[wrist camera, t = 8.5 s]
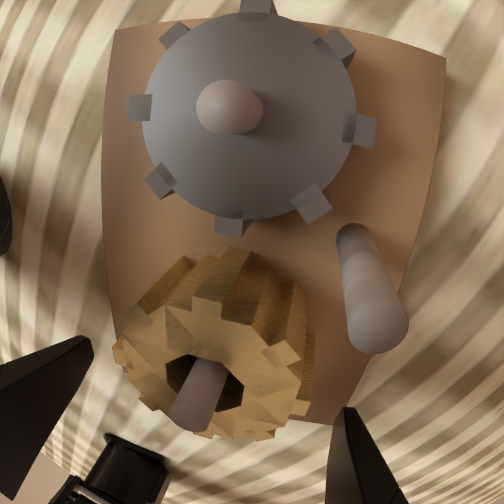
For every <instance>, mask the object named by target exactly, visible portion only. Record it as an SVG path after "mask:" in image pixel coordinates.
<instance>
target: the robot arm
mask: <svg viewBox="0 0 504 504" xmlns="http://www.w3.org/2000/svg"><path fill="white" fill-rule="evenodd" d="M93 359H94V352H93V348H92V344H91V341H90V339H89V338H87V337H85V336H83V335H78V336H76V337H73V338H70V339H68V340H65V341H63V342H60V343H57V344H55V345H52V346H50V347H47V348H44V349H42V350H39V351H36V352H34V353H31V354H29V355H26V356H23V357H21V358H18V359H15V360H13V361H10V362H7V363H5V364H2V365H0V492H1V493H2V494H3V495H5V496H6V497H7V498H9V499H10V500H11V501H13V499H14V498H15V496H16V494H17V492H18V490H19V489H20V487H21V485H22V483H23V481H24V479H25V477H26V475H27V474H28V472H29V470H30V468H31V466H32V464H33V463H34V461H35V459H36V457H37V456H38V454H39V452H40V450H41V449H42V447H43V445H44V444H45V442H46V440H47V439H48V437H49V435H50V434H51V432H52V430H53V429H54V427H55V425H56V424H57V422H58V420H59V419H60V417H61V416H62V414H63V412H64V411H65V409H66V408H67V406H68V404H69V403H70V401H71V400H72V398H73V397H74V395H75V394H76V392H77V390H78V388H79V387H80V385H81V383H82V381H83V379H84V377H85V375H86V373H87V371H88V369H89V367H90V365H91V363H92V361H93ZM103 437H104V439H105V441H106V443H107V445H106V447H105V448H104V450H103V452H102V453H101V455H100V456H99V458H98V459H97V461H96V463H95V464H94V466H93V467H92V469H91V471H90V472H89V474H88V475H87V477H86V479H85V480H84V481H83V480H81V478H80V477H78V476H77V475H76V476H73V475H71V474H70V476H69V477H68V479H67V480H66V482H65V484H64V485H63V486H62V487H61V489H60V490H59V491H58V492H57V493H56V495H55V496H54V497H53V498H52V499H51V500H50V502H49V503H48V504H97V503H95V502H93V501H92V500H90V499H88V498H87V497H85V496H84V495H82V494H78V493H77V492H78V491H79V490H80V491H81V492H83V493H84V494H86V495H88V496H89V497H91V498H92V499H94V500H96V501H98V502H99V503H101V504H161V502H162V500H163V497H164V495H165V493H166V491H167V488H168V486H169V484H170V482H171V478H170V474H169V472H168V470H167V466H166V462H165V459H164V458H163V457H161V456H159V455H156V454H154V453H151V452H149V451H146V450H144V449H141V448H139V447H136V446H134V445H132V444H130V443H127V442H125V441H123V440H121V439H118V438H116V437H114V436H112V435H110V434H108V433H105V434H104V436H103ZM325 504H409V503H408V501H407V499H406V498H405V496H404V494H403V492H402V491H401V489H400V488H399V485H398V483H397V482H396V480H395V478H394V476H393V474H392V473H391V471H390V469H389V467H388V465H387V464H386V462H385V460H384V458H383V456H382V455H381V453H380V451H379V449H378V447H377V446H376V444H375V442H374V440H373V438H372V437H371V435H370V433H369V431H368V430H367V428H366V426H365V424H364V422H363V421H362V419H361V417H360V415H359V414H358V412H357V410H356V409H355V408H353V407H342V408H341V410H340V412H339V414H338V416H337V417H336V419H335V421H334V424H333V430H332V437H331V444H330V450H329V456H328V462H327V475H326V493H325Z"/></svg>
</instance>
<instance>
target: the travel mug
mask: <svg viewBox="0 0 504 504" xmlns="http://www.w3.org/2000/svg"><path fill="white" fill-rule="evenodd" d="M11 235H12V223H11V213H10V207H9V202H8V198H7V194H6V191H5V188H4V185H3V183H2V180H1V178H0V256H2V255H3V254H4V253H5V252H6V251H7V250H8V248H9V246H10V242H11Z"/></svg>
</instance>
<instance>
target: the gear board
mask: <svg viewBox="0 0 504 504" xmlns="http://www.w3.org/2000/svg"><path fill="white" fill-rule="evenodd" d="M445 76H446V58H444V57H442V56H439V55H437V54H434V53H431V52H429V51H426V50H423V49H420V48H417V47H414V46H411V45H408V44H405V43H402V42H398V41H395V40H391V39H388V38H384V37H380V36H377V35H373V34H368V33H364V32H360V31H355V30H350V29H345V28H340V27H334V26H328V25H322V24H315V23H308V22H300V21H293V20H291V19H288V18H285V17H282V16H278V14H277V11H276V8H275V6H274V3H273V0H241V4H240V10H239V13H234V14H228V15H223V16H220V17H217V18H207V19H190V20H179V21H169V22H161V23H154V24H147V25H141V26H135V27H129V28H124V29H119V30H115V34H114V39H113V45H112V51H111V57H110V64H109V71H108V78H107V86H106V95H105V106H104V118H103V134H102V162H101V193H102V221H103V238H104V250H105V261H106V271H107V280H108V288H109V295H110V302H111V309H112V315H113V321H114V327H115V333H116V338H117V341H118V340H119V338H120V337H121V333H122V332H123V331H124V330H125V329H126V327H127V326H128V325H129V324H130V323H131V322H130V321H129V320H128V319H127V317H126V316H125V315H124V314H123V312H124V311H125V310H126V309H127V308H128V307H129V306H130V305H131V304H132V303H133V302H134V301H135V300H136V299H137V298H138V297H139V296H140V295H141V294H142V293H143V292H144V291H145V290H146V289H147V288H148V287H149V286H150V285H151V284H152V283H153V282H154V281H155V280H156V279H157V278H158V277H159V276H160V275H161V274H162V273H163V272H164V271H165V270H166V269H167V268H168V267H169V266H170V265H172V264H173V263H174V262H176V261H177V260H178V259H180V258H181V257H182V256H183V255H184V256H185V258H186V259H187V260H188V261H189V263H190V264H191V265H193V264H195V263H196V262H198V261H199V260H200V259H202V258H203V257H205V256H206V255H209V256H214V257H219V258H221V256H222V255H223V254H224V252H225V251H226V250H227V248H228V247H233V248H238V249H243V250H248V251H251V253H250V260H249V264H253V265H258V266H263V267H268V268H271V269H272V270H273V271H274V273H275V274H276V275H277V277H278V278H279V279H280V281H281V282H282V283H283V285H285V284H287V283H289V282H290V281H292V280H294V279H296V280H297V281H298V283H299V284H300V285H301V287H302V288H303V290H304V291H305V292H306V294H307V307H306V315H307V316H308V320H307V331H306V333H308V334H314V335H315V354H314V370H313V384H312V396H311V403H310V405H309V408H308V410H307V412H306V414H305V416H301V415H295V414H289V417H288V419H293V420H299V421H306V422H312V423H320V424H327V425H333V424H334V421H335V419H336V417H337V416H338V414H339V412H340V410H341V408H342V407H346V405H347V403H348V401H349V399H350V398H351V396H352V394H353V392H354V390H355V388H356V386H357V384H358V382H359V380H360V378H361V376H362V374H363V372H364V370H365V368H366V366H367V364H368V362H369V360H370V358H371V356H372V354H378V353H383V352H386V351H389V350H391V349H392V348H394V347H396V346H397V345H398V344H399V343H400V342H401V341H402V340H403V339H404V337H405V335H406V333H407V331H408V325H409V323H408V318H407V315H406V313H405V310H404V308H403V305H402V303H401V300H400V298H399V296H398V291H399V288H400V285H401V282H402V279H403V277H404V274H405V271H406V268H407V265H408V262H409V259H410V256H411V252H412V249H413V246H414V243H415V239H416V236H417V233H418V229H419V225H420V222H421V218H422V214H423V210H424V207H425V203H426V198H427V194H428V190H429V185H430V181H431V176H432V171H433V166H434V161H435V156H436V150H437V144H438V138H439V132H440V125H441V117H442V109H443V100H444V89H445ZM122 367H123V371H124V372H125V373H128V370H127V367H124V366H122ZM229 372H230V371H229V370H228V369H227V368H226V367H225V366H224V365H223V364H222V363H219V362H216V361H212V360H208V359H204V358H201V357H198V358H197V360H196V362H195V364H194V365H193V367H192V369H191V371H190V373H189V375H188V377H187V379H186V381H185V382H184V384H183V386H182V388H181V390H180V392H179V394H178V396H177V398H176V400H175V401H174V403H173V405H172V407H171V409H170V411H169V417H170V418H171V420H172V421H173V422H174V423H175V424H176V425H178V426H179V427H181V428H183V429H185V430H188V431H192V432H204V431H206V430H207V428H208V426H209V423H210V420H211V418H212V415H213V413H214V410H215V408H216V405H217V403H218V400H219V398H220V395H221V392H222V390H223V387H224V385H225V382H226V380H227V377H228V374H229Z"/></svg>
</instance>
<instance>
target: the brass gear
mask: <svg viewBox="0 0 504 504" xmlns="http://www.w3.org/2000/svg"><path fill="white" fill-rule="evenodd" d="M250 253H251V251H248V250H243V249H238V248H233V247H228V248H227V250H226V251H225V252H224V254H223V255H222V256H221V258H219V257H214V256H209V255H206V256H205V257H203V258H202V259H200V260H199V261H198V262H196V263H195V264H193V265H191V264H190V263H189V261H188V260H187V259H186V258H185V256H184V255H183V256H182V257H181V258H180V259H178V260H177V261H176V262H174V263H173V264H172V265H170V266H169V267H168V268H167V269H166V270H165V271H164V272H163V273H162V274H161V275H160V276H159V277H158V278H157V279H156V280H155V281H154V282H153V283H152V284H151V285H150V286H149V287H148V288H147V289H146V290H145V291H144V292H143V293H142V294H141V295H140V296H139V297H138V298H137V299H136V300H135V301H134V302H133V303H132V304H131V305H130V306H129V307H128V308H127V309H126V310H125V311H124V312H123V314H124V315H125V316H126V317H127V319H128V320H129V321H130V322H131V323H130V324H129V325H128V326H127V327H126V329H125V330H124V331H123V332H122V333H121V337H120V338H119V340H118V341H117V342H116V343H115V344H114V345H113V347H112V349H113V354H114V358H115V363H117V364H119V365H122V366H124V367H127V370H128V375H129V379H130V382H131V383H132V384H133V385H134V386H135V387H136V388H137V389H138V390H139V391H140V392H141V395H140V396H139V398H138V399H140V400H141V401H142V402H143V403H144V404H145V405H146V406H147V407H148V408H150V409H151V410H152V411H155V410H159V409H160V410H161V411H162V412H163V413H165V414H166V415H167V416H168V417H169V411H170V409H171V407H172V405H173V403H174V401H175V400H176V398H177V396H178V394H179V392H180V390H181V388H182V386H183V384H184V382H185V381H186V379H187V377H188V375H189V373H190V371H191V369H192V367H193V365H194V364H195V362H196V360H197V358H198V357H201V358H204V359H208V360H212V361H216V362H219V363H222V364H223V365H224V366H225V367H226V368H227V369H228V370H229V371H230V372H229V374H228V377H227V380H226V382H225V385H224V387H223V390H222V392H221V395H220V398H219V400H218V403H217V405H216V408H215V410H214V413H213V415H212V418H211V420H210V423H209V426H208V428H207V430H206V431H204V432H193V434H196V435H199V436H203V437H206V438H209V439H212V438H213V436H214V434H216V435H220V436H224V437H228V438H232V439H234V438H239V437H243V436H248V435H249V436H250V437H251V438H253V439H254V440H255V441H262V440H266V439H271V438H274V435H275V430H276V428H280V427H284V426H285V424H286V422H287V419H288V417H289V414H295V415H301V416H305V414H306V412H307V410H308V408H309V405H310V403H311V396H312V384H313V370H314V354H315V335H314V334H308V333H306V331H307V320H308V316H307V315H306V307H307V294H306V292H305V291H304V290H303V288H302V287H301V285H300V284H299V283H298V281H297V280H296V279H294V280H292V281H290V282H289V283H287V284H285V285H283V283H282V282H281V281H280V279H279V278H278V277H277V275H276V274H275V273H274V271H273V270H272V269H271V268H268V267H263V266H258V265H253V264H249V260H250ZM169 418H170V417H169ZM170 419H171V418H170Z"/></svg>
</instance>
